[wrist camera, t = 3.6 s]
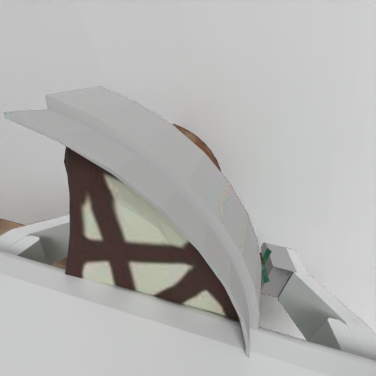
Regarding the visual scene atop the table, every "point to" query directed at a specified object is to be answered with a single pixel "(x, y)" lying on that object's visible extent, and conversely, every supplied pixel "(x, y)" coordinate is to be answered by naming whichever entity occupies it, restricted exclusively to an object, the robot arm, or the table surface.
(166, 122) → the food container
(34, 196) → the table surface
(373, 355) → the robot arm
